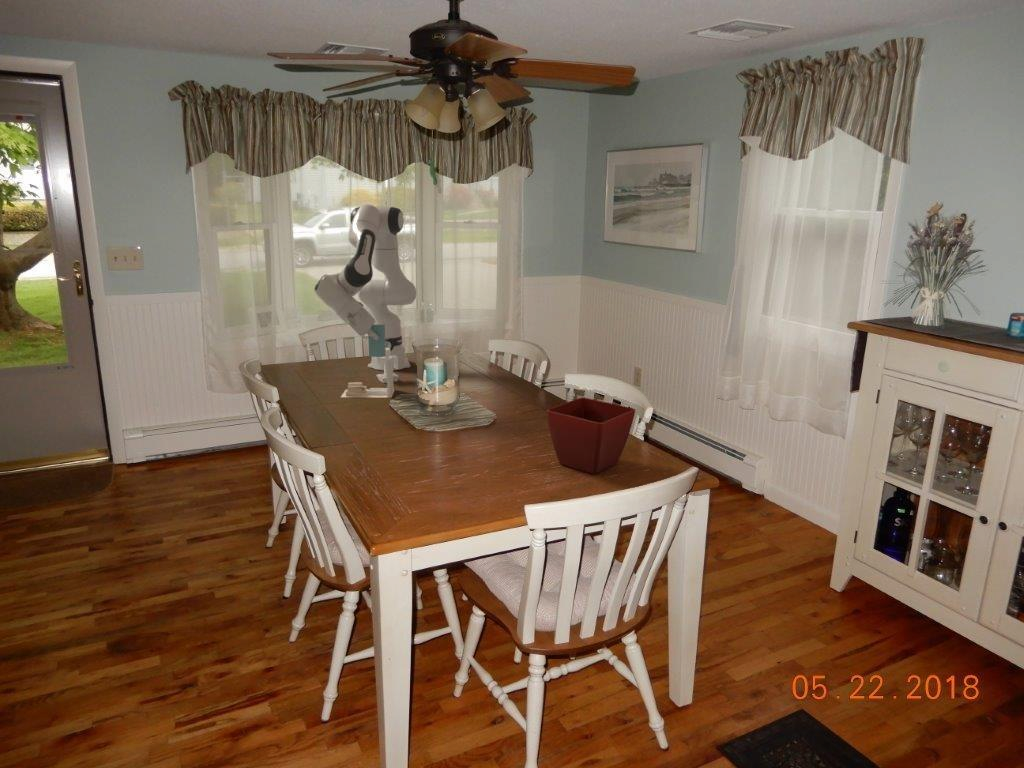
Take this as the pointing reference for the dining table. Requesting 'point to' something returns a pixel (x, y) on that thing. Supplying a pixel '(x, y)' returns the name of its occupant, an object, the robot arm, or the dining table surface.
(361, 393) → the plate
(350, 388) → the offcut top
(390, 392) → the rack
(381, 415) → the dining table surface
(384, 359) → the figurine
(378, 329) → the tall board
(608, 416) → the plant pot
